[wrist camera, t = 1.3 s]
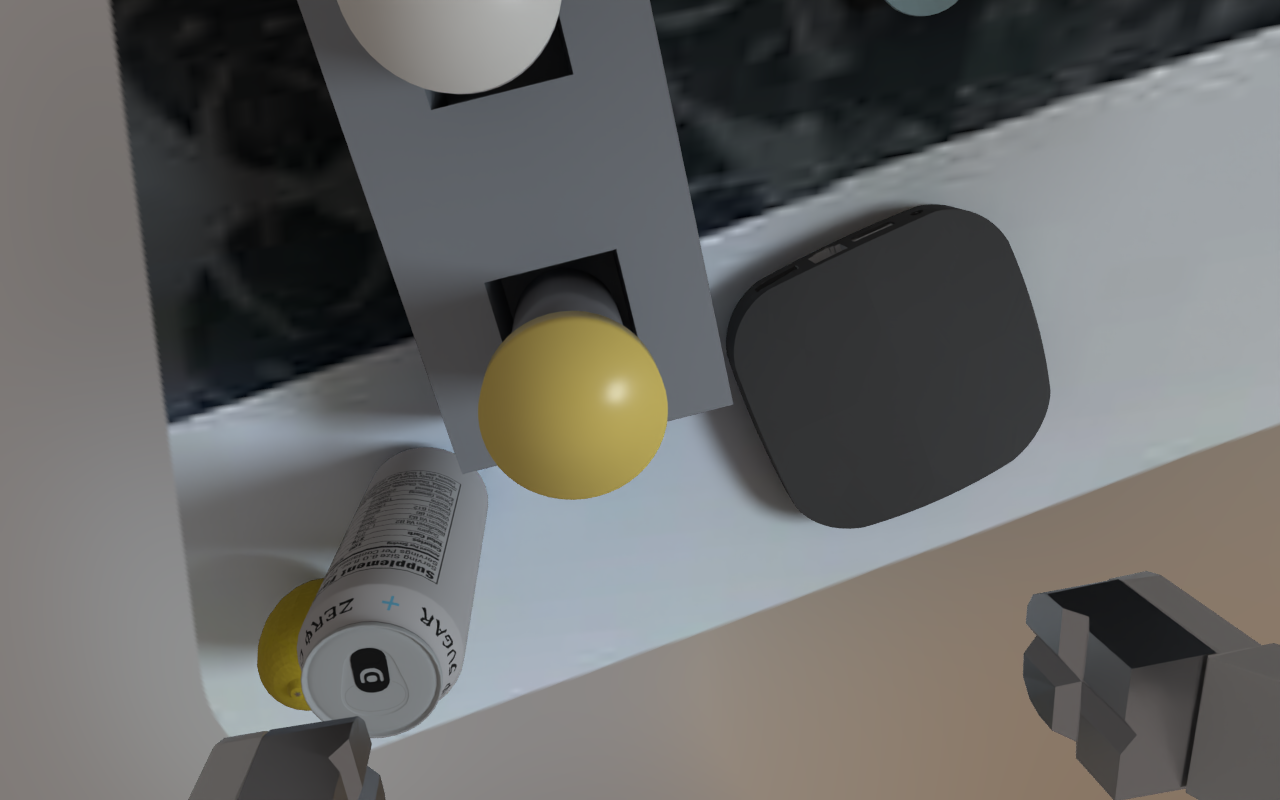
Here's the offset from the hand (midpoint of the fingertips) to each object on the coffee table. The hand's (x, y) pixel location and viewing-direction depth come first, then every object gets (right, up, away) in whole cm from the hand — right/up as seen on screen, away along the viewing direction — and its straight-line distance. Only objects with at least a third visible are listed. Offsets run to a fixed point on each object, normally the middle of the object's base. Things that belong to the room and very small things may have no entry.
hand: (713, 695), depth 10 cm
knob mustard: (-4, +7, +25) cm, 26 cm away
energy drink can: (-12, -1, +33) cm, 35 cm away
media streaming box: (+12, +5, +33) cm, 36 cm away
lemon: (-17, -7, +34) cm, 39 cm away
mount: (-6, +14, +28) cm, 32 cm away
